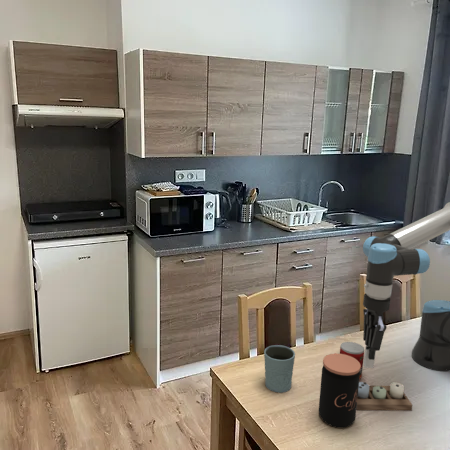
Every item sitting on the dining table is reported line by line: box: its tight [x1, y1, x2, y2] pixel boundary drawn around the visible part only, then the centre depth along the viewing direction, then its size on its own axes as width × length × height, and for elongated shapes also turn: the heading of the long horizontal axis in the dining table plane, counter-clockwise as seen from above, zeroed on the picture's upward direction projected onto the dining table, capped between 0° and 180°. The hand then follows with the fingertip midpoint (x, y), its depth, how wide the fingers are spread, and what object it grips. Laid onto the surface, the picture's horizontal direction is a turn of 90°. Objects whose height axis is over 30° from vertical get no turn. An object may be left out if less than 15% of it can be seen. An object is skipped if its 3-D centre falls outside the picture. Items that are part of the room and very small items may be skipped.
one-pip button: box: [389, 381, 405, 399], centre depth 139 cm, size 4×4×3 cm
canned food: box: [339, 341, 365, 381], centre depth 152 cm, size 8×8×11 cm
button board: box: [356, 385, 413, 412], centre depth 139 cm, size 17×10×2 cm, turn 91°
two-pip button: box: [372, 385, 386, 399], centre depth 139 cm, size 4×4×3 cm
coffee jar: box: [318, 353, 361, 429], centre depth 129 cm, size 11×11×18 cm
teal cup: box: [263, 344, 296, 393], centre depth 145 cm, size 10×10×12 cm
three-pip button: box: [358, 381, 370, 398], centre depth 139 cm, size 4×4×3 cm
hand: (368, 366), depth 137 cm, fingers closed
